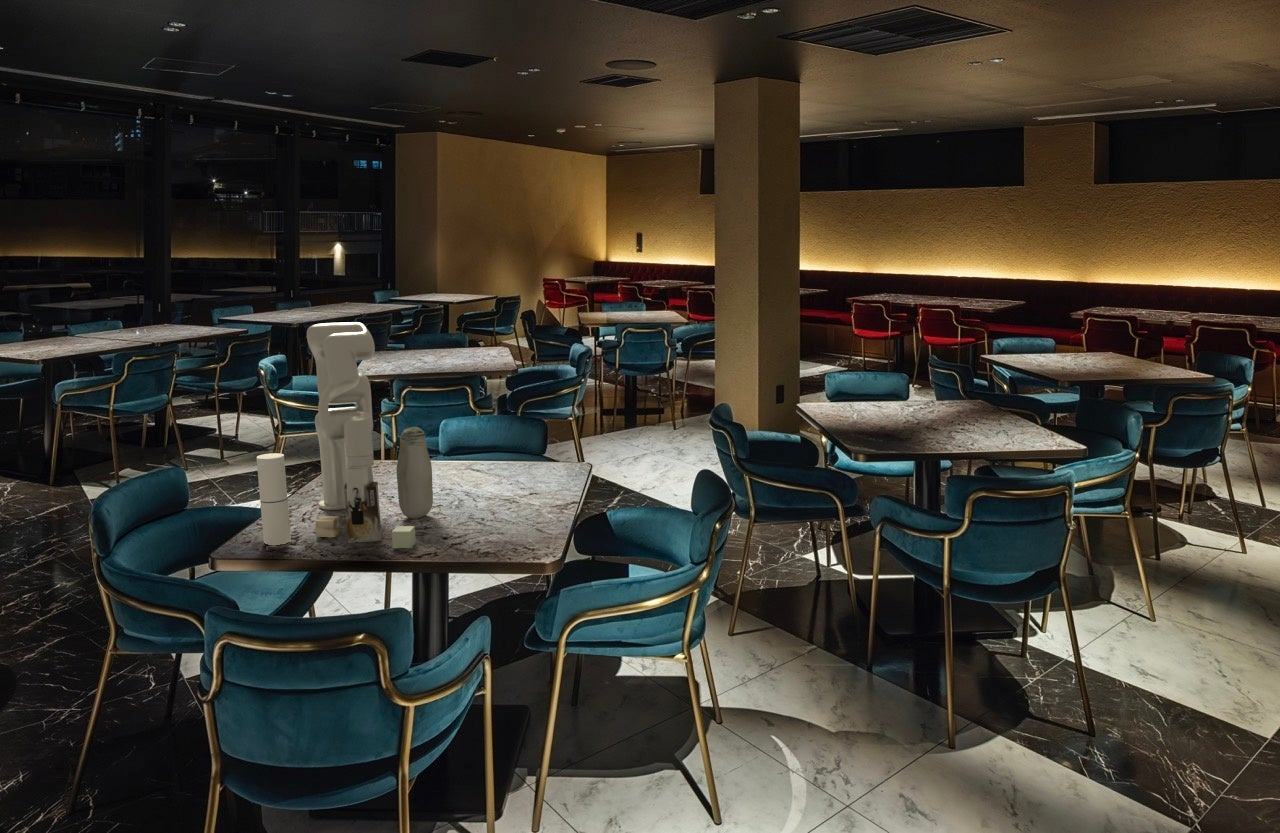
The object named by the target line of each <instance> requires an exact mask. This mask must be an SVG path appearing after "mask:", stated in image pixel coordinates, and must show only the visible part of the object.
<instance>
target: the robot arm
mask: <svg viewBox="0 0 1280 833" xmlns="http://www.w3.org/2000/svg"><path fill="white" fill-rule="evenodd" d="M306 340H307V345H308V347H309V350H310V351H311V354H312V355H313V357H314V360H315V361H314V362H315V366H316V381H317V382H316V383H317V393H318V394H317V395H318V399H319V400H318V404H317V405H318V406H317V408H318V409H317V410H318V412H317V413H316V415H315V418H314V425H315V430H316V435H317V440H318V444H319V445H318V446H319V452H320V454H319V455H320V467H321V468H320V469H321V480H322V495H323V500H321V501H320V502H319V503H318V506H319V508H320V509H322V510H327V511H328V510H329V511H337V510H345V499H344V486H345V484H346V483H347V501H348V502H349V501H350V502H349V503H350V507H351V517H352V524H353V525H363V524H364V517H363V510H362V505H363V502H365V501H366V494H367V486H369V485H370V484H371V483H372V482H375V480H374V472H373V466H374V465H375V461H374V460H375V458H374V443H373V430H374V420H373V407H372V406H373V405H372V390H371V384H370V380H369V378H368V376H367V375H366V374H364V373H361V372H360V373H359V370H358V364H357V361H365V360H366V361H367V360H368V361H369V360H371V359H373V358H374V356H375V350H376V347H375V341H374V338H373V336H372V334H371V332H370V331H369V329H368V328H367V326H366V325H365V324H364V323H362V322H358V321H355V322H354V321H351V322H325V323H324V322H323V323H317V324H312V325H311V326H308V328H307V330H306ZM347 404H349V405H350V404H355V405H356V406H347V407H346V406H345V407H335V408H334V407H332V408H331V407H330V408H329V406H330V405H331V406H332V405H333V406H335V405H337V406H338V405H347ZM356 497H358V498H360V499H361V500H356ZM357 503H359V506H358V504H357Z"/></svg>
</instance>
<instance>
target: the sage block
mask: <svg viewBox="0 0 1280 833" xmlns="http://www.w3.org/2000/svg"><path fill="white" fill-rule="evenodd" d="M415 528H416V526H415V525H402V526H401V525H397V526H395V528H393V530H392V531H391V541H392V544H391V545H392V549H393V548H411V547H412V546H413V545H414V546H415V545H416V541H417V540H416V529H415ZM414 546H413V547H414ZM413 547H412V548H413ZM412 548H411V549H412Z"/></svg>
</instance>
